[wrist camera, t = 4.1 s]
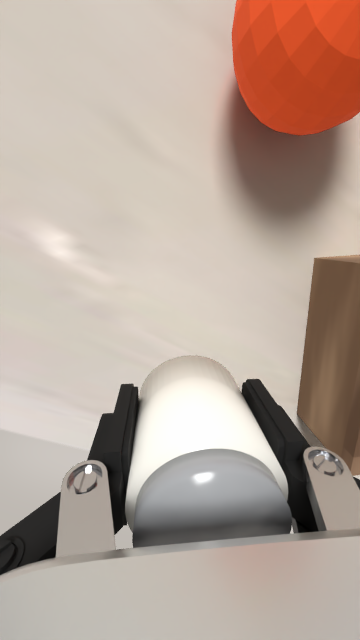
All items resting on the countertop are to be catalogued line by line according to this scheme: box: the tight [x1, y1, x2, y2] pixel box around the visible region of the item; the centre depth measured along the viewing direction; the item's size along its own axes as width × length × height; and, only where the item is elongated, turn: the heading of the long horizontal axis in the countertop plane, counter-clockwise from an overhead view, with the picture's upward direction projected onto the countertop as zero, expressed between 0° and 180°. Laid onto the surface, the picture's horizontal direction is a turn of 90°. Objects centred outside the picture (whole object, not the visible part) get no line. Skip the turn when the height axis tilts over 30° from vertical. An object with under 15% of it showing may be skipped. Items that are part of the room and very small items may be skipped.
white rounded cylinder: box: [125, 356, 292, 548], centre depth 10 cm, size 5×5×6 cm
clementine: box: [232, 0, 360, 136], centre depth 9 cm, size 8×7×7 cm
